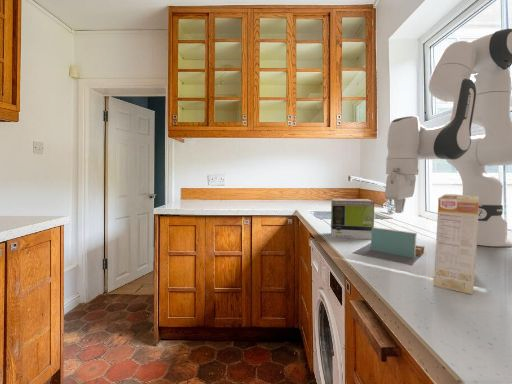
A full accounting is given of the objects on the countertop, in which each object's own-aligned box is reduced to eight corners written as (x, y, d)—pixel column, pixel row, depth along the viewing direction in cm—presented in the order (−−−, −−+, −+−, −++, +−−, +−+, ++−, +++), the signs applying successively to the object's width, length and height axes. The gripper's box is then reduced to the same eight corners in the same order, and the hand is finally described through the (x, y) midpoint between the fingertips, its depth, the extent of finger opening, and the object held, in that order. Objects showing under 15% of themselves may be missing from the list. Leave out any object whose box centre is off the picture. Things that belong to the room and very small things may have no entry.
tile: (372, 248, 87) (373, 227, 87) (415, 256, 79) (416, 232, 79) (370, 249, 86) (371, 227, 85) (414, 257, 78) (415, 233, 78)
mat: (370, 244, 95) (371, 242, 95) (424, 253, 85) (424, 251, 84) (351, 254, 82) (351, 253, 82) (411, 267, 72) (411, 265, 72)
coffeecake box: (439, 268, 71) (444, 193, 70) (474, 275, 67) (479, 195, 66) (431, 286, 60) (437, 197, 58) (473, 295, 55) (479, 199, 54)
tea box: (368, 235, 110) (370, 198, 109) (373, 241, 100) (375, 201, 99) (330, 233, 113) (331, 197, 112) (331, 238, 104) (332, 199, 103)
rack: (376, 244, 93) (376, 238, 93) (423, 252, 84) (424, 246, 84) (371, 246, 90) (371, 241, 89) (420, 255, 80) (421, 249, 80)
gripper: (404, 167, 76) (401, 217, 77) (419, 169, 91) (417, 210, 92) (380, 167, 80) (378, 214, 81) (398, 169, 95) (396, 209, 96)
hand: (399, 212), depth 87 cm, fingers closed
